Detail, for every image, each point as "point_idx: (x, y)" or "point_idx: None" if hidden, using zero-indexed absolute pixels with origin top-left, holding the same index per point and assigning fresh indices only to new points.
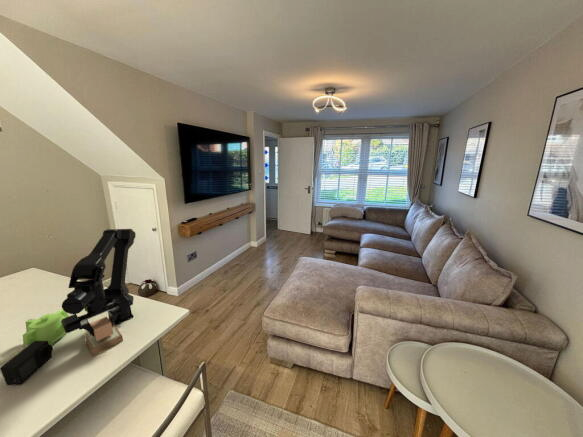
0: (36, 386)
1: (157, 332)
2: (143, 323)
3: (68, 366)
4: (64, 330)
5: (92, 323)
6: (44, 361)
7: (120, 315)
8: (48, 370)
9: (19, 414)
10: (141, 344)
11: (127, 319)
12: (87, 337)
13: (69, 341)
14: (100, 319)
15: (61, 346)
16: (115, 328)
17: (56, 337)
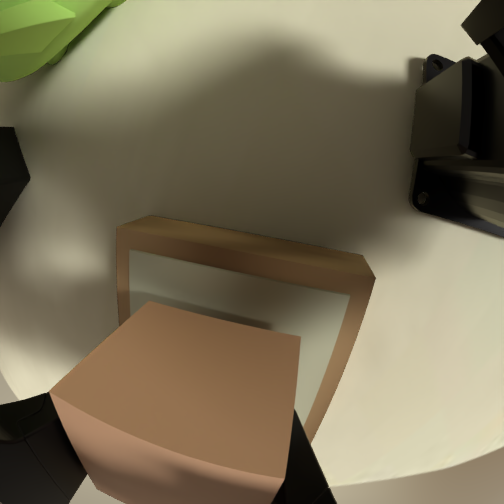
0: (8, 311)
1: (419, 469)
2: (476, 370)
3: (65, 325)
4: (55, 27)
5: (76, 422)
6: (3, 207)
7: (492, 215)
8: (19, 266)
9: (5, 363)
10: (330, 480)
11: (485, 229)
12: (131, 248)
13: (101, 92)
14: (177, 460)
15: (67, 112)
16: (339, 358)
17: (34, 58)
